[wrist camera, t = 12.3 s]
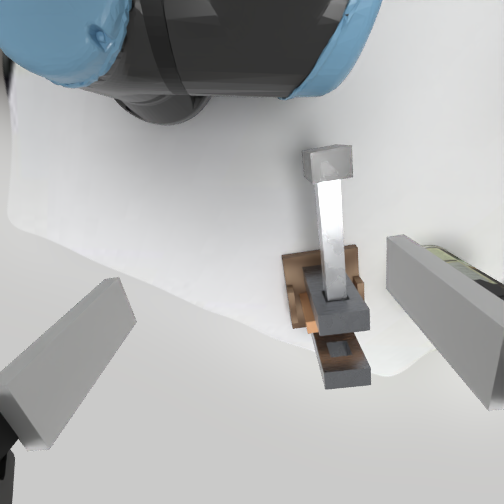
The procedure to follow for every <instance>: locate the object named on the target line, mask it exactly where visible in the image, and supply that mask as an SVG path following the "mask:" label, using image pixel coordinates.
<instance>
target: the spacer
mask: <svg viewBox="0 0 504 504" xmlns="http://www.w3.org/2000/svg"><path fill="white" fill-rule="evenodd" d="M299 296H300V302H301V306H302V311H303V315H304V319H305V323H306V327H307V331H308V334H309V333H315V332H319V331H318V328H317V325H316V321H315V318H314V315H313V311H312V308H311V305H310V301H309V298H308V294H307V293H301V294H299Z"/></svg>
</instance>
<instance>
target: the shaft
mask: <svg viewBox="0 0 504 504" xmlns="http://www.w3.org/2000/svg"><path fill="white" fill-rule="evenodd" d="M302 158H303V168H304V177H305V178H306V179H308V180H309V181H310V182H311V183H312V184H314V188H315V199H316V210H317V221H318V232H319V243H320V254H321V265H322V276H323V287H324V298H325V301H326V303H328V302H336V301H343V300H347V291H346V273H345V255H344V237H343V219H342V201H341V182H340V179H345V178H351V177H353V164H352V146H351V145H331V146H326V147H320V148H315V149H309V150H304V151H302Z"/></svg>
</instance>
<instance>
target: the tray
mask: <svg viewBox="0 0 504 504" xmlns="http://www.w3.org/2000/svg"><path fill="white" fill-rule="evenodd" d="M344 255H345V272H346V273H347V275H348V277H349V278H350V280H351V281H352V283H353V284H354V286H355V288H356V289H357V291H358V292H359V294H360V295H361V297H362V299H363V300H364V282H363V281H362V280H361V278H360V277H359V270H358V248H357V247H356V245H348V246H344ZM282 260H283V266H284V273H285V280H286V287H287V294H288V300H289V307H290V314H291V321H292V327H293V329H294V328H302V327H306V323H305V319H304V315H303V311H302V306H301V302H300V296H299V294H301V293H307V291H306V288H305V284H304V278H303V269H302V267H308V266H315V265H321V254H320V250H315V251H308V252H301V253H294V254H288V255H282Z"/></svg>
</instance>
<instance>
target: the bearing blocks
mask: <svg viewBox="0 0 504 504" xmlns="http://www.w3.org/2000/svg"><path fill="white" fill-rule="evenodd" d="M302 269H303V278H304V284H305V288H306V291H307V294H308V298H309V301H310V305H311V308H312V311H313V315H314V318H315V321H316V325H317V328H318V331H319V332H315V333H311V335H312V339H313V343H314V347H315V351H316V354H317V359H318V362H319V366H320V370H321V374H322V378H323V382H324V386H325V389H335V388H346V387H356V386H366V385H371V368H370V366H369V363H368V361H367V359H366V357H365V355H364V353H363V351H362V349H361V347H360V345H359V343H358V340H357V338H356V336H355V334H354V332H359V331H367V330H370V313H369V308H368V306H367V305H366V303H365V302H364V300H363V299H362V297H361V295H360V294H359V292H358V291H357V289H356V288H355V286H354V284H353V283H352V281H351V280H350V278H349V277H348V275H347V273H346V272H345V273H346V291H347V300H343V301H336V302H328V303H326V301H325V298H324V287H323V276H322V265H315V266H308V267H302Z"/></svg>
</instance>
